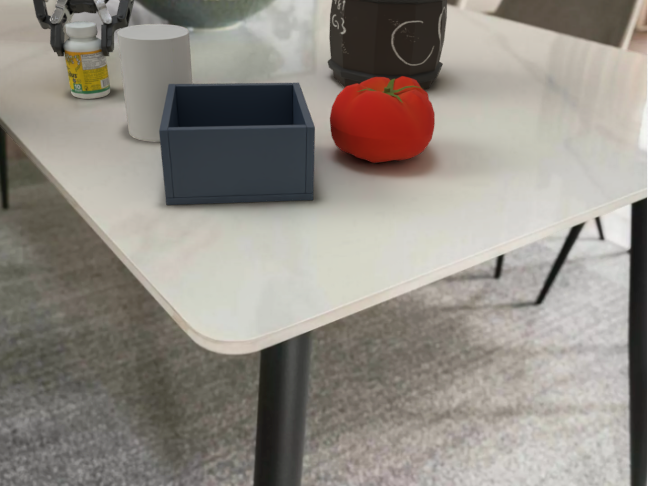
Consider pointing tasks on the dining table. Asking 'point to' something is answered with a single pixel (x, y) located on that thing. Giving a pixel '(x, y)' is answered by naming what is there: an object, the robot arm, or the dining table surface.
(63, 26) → the robot arm
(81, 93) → the supplement bottle
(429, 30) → the dark plant pot
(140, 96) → the cup
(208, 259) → the dining table surface
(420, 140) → the tomato
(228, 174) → the tote
